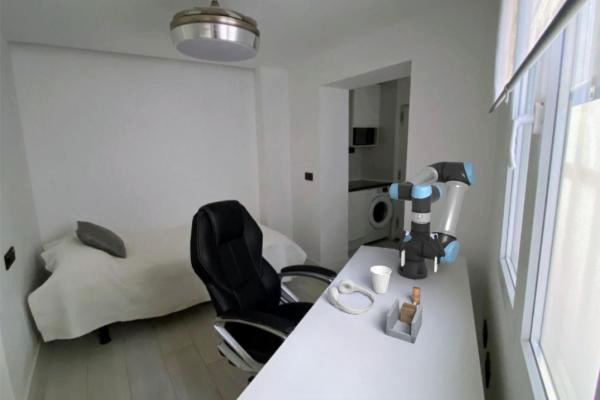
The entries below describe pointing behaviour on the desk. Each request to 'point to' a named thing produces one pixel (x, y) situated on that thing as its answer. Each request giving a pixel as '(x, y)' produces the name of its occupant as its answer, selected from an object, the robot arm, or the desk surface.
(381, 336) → the desk surface
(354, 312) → the headphones
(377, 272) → the cup
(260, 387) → the desk surface
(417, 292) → the tethered block
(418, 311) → the lane
